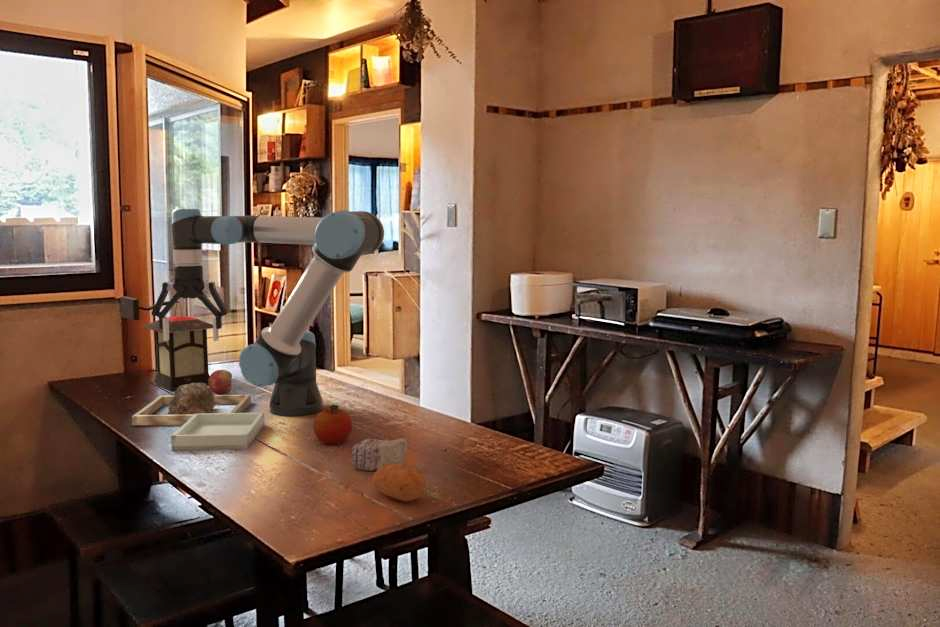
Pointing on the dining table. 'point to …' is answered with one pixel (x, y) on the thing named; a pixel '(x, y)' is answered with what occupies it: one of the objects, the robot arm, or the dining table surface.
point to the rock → (192, 400)
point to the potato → (399, 482)
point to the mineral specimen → (378, 453)
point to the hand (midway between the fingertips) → (191, 340)
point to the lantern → (176, 347)
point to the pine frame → (147, 419)
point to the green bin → (218, 431)
